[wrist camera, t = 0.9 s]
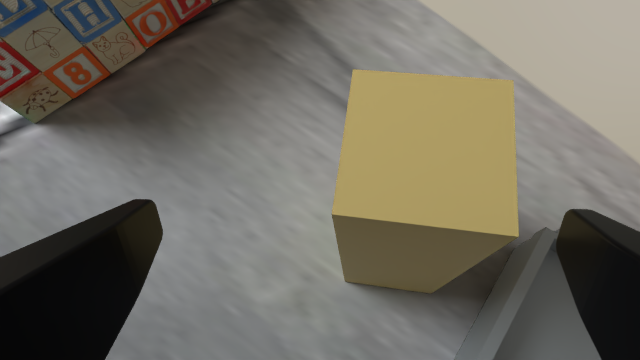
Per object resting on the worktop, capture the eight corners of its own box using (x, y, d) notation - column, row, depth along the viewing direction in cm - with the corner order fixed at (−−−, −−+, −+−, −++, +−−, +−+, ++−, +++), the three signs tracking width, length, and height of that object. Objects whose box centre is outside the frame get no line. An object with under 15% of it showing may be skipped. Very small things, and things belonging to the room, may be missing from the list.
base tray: (599, 476, 17) (670, 516, 13) (446, 368, 19) (468, 374, 15) (657, 328, 19) (735, 324, 15) (512, 244, 21) (548, 222, 17)
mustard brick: (430, 293, 20) (518, 237, 9) (344, 281, 21) (331, 214, 10) (434, 211, 22) (513, 80, 11) (354, 202, 23) (353, 69, 12)
